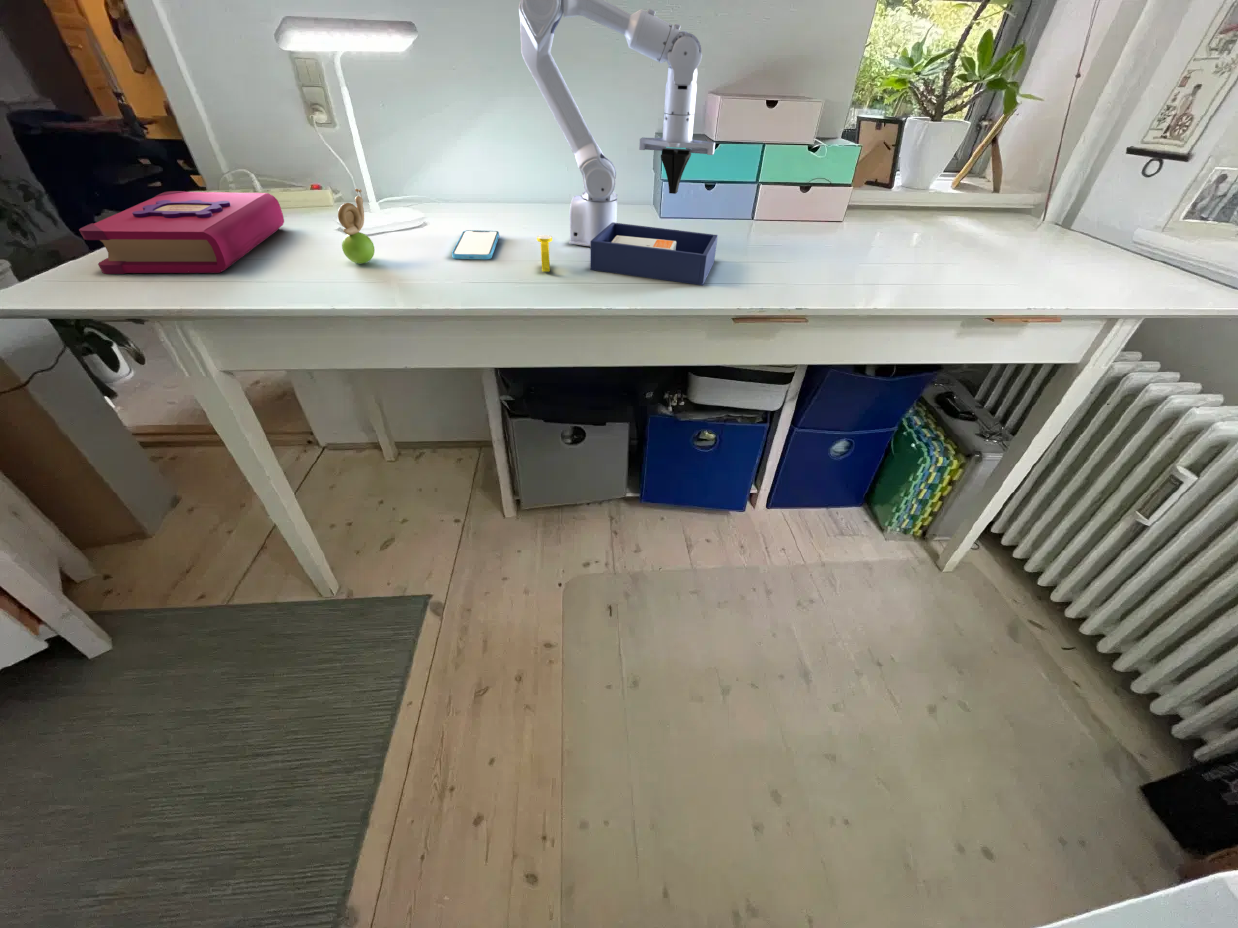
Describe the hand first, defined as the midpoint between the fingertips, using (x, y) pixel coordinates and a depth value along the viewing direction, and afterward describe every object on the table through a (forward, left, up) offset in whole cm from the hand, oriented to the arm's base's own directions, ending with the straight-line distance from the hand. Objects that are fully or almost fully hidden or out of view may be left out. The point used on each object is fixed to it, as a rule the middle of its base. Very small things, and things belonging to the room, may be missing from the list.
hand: (673, 192), depth 111 cm
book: (-83, -38, -11) cm, 92 cm away
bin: (0, -14, -10) cm, 17 cm away
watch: (-18, -24, -11) cm, 32 cm away
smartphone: (-36, -17, -11) cm, 42 cm away
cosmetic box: (+4, -14, -8) cm, 17 cm away
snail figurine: (-51, -33, -11) cm, 62 cm away
